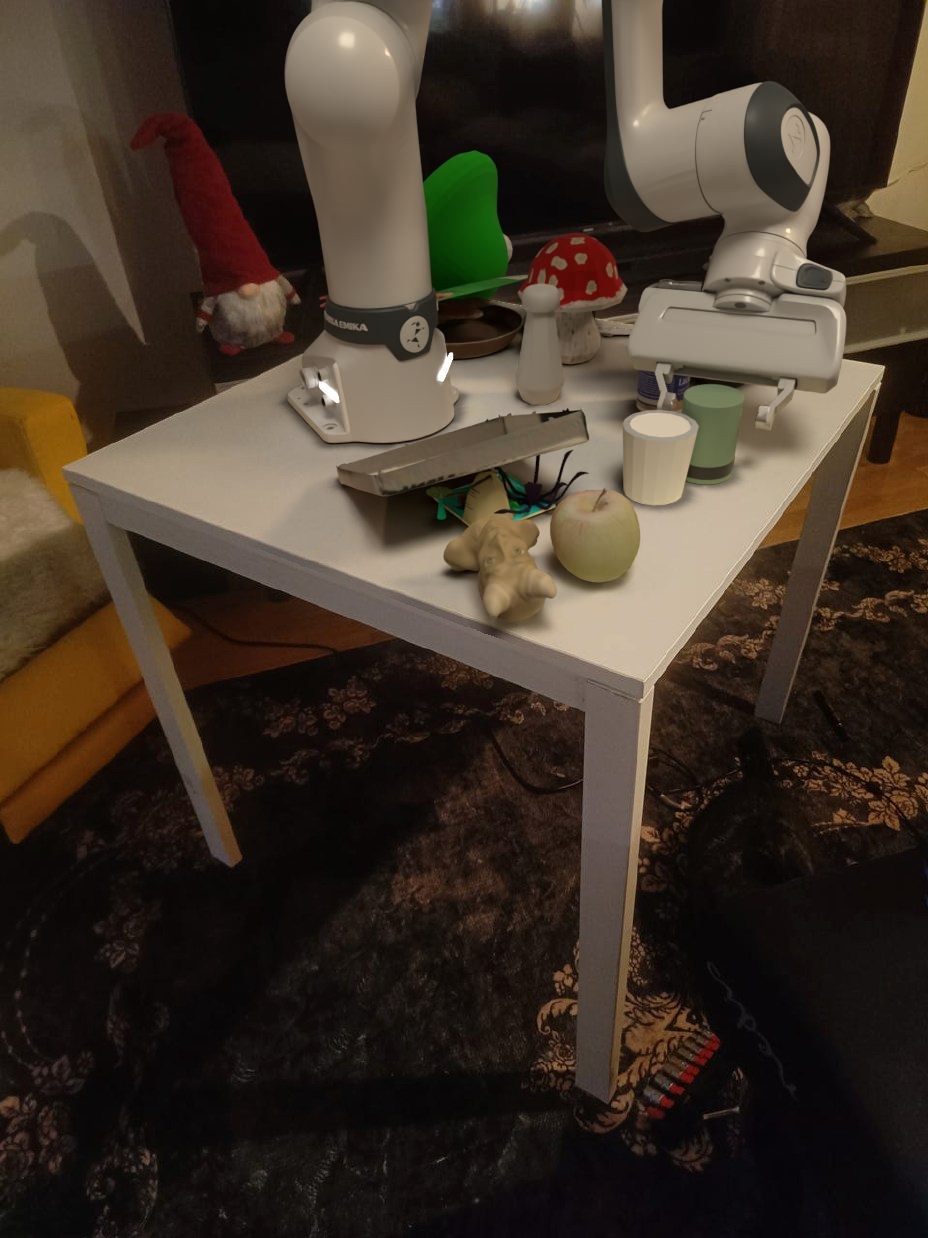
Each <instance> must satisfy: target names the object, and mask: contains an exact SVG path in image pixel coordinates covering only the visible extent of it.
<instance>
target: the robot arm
mask: <svg viewBox="0 0 928 1238" xmlns="http://www.w3.org/2000/svg"><path fill="white" fill-rule="evenodd" d="M433 3H434V0H311V7H310V13H308V15H307V16H305V17H304V18H303V20H302V21H301V22H300V23H299V25H298V26H297V27H296V29H295V31H294V32H293V34H292V36H291V38H290V41H289V44H288V47H287V51H286V55H285V63H284V87H285V93H286V96H287V101H288V104H289V107H290V111H291V115H292V121H293V125H294V129H295V134H296V138H297V142H298V148H299V152H300V156H301V160H302V164H303V169H304V172H305V176H306V180H307V183H308V187H309V191H310V195H311V198H312V201H313V206H314V210H315V214H316V219H317V226H318V232H319V239H320V244H321V245H320V246H321V251H322V257H323V264H324V265H323V266H324V271H325V277H326V278H325V279H326V284H327V286H326V287H327V291H328V294H326V295H322V296H319V298H318V299H319V300H325V302H324V303H322V304H320V305H319V306H320V308H324V311H323V318H324V321H323V331H321V332H320V334H319V335H318V337H316V339H315V340H314V341H313V342H311V344H310V345H309V346H308V347H307V348H306V349H305V351H304V352H303V354H302V355H301V369H300V370H299V373H298V374H299V379H300V383H301V384H299V385H298V386H296V387H294V388H293V389H291V390H290V391H289V392H288V393H287V402H288V403H289V404H290V406H291V407H292V408H293V409H294V410H295V411H296V413H298V414H299V416H300V417H301V418H302V419H304V421H305V422H306V423H307V424H308V425H309V426H310V428H312V430H314V432H315V433H316V434H317V435H318V436H319V437H320V438H321V439H322V440H323V441H324V442H325V443H329V444H332V443H333V444H337V443H351V442H360V443H361V442H362V443H373V444H387V443H389V444H390V443H399V442H401V443H402V442H406V441H413V440H416V439H421V438H423V437H426V436H429V435H432V434H435V433H436V432H439V431H441V430H443V429H444V428H445V427H446V426H448V425H449V424H450V423H451V422H452V421H453V419H454V417H455V415H456V414H455V408H454V407H455V406H454V405H455V404H456V402H457V401H458V400H459V397H460V393H459V389H458V387H456V386H455V385H452V379H451V373H450V371H451V370H450V366H451V363H452V361H453V354H452V353H450V354H449V356H448V358H447V352H446V345H445V339H444V335H443V333H442V332H441V331H440V330H438V329H437V328H436V326H437V325H438V301H437V299H436V291H435V289H434V288H433V287H432V285H431V271H430V256H429V241H428V226H427V213H426V204H425V196H424V188H423V182H424V181H423V172H422V162H421V154H420V153H421V152H420V142H419V130H418V122H417V121H418V120H417V109H416V100H417V97H418V94H419V91H420V86H421V85H420V84H421V79H422V73H423V66H424V60H425V54H426V47H427V42H428V35H429V31H430V30H429V29H430V23H431V17H432V11H433V5H434V4H433ZM663 3H664V0H601V23H602V40H603V41H602V42H603V44H602V45H603V62H604V63H603V64H604V83H605V103H606V138H605V150H604V151H605V152H604V161H603V184H604V192H605V195H606V199H607V201H608V203H609V205H610V207H611V208H612V210H613V211H614V212H615V213H616V214H617V216H619V218H620V219H621V220H622V221H624V222H625V223H626V225H629V226H630V227H631V228H633V229H635V231H637V232H642V233H650V232H653V231H657V230H660V229H663V228H666V227H670V226H674V225H677V224H679V223H682V222H684V221H690V220H695V219H701V218H707V217H710V216H711V217H712V216H717V215H721V216H722V218H723V219H724V227H723V230H722V233H721V234H720V235H719V237H718V239H717V241H716V243H715V244H714V247H713V251H712V254H711V255H712V257H711V261H710V264H709V268H708V271H707V274H706V278H705V281H704V282H701V281H694V280H674V279H669V278H667V279H666V278H664V279H660V280H659V281H658V282H655V283H653V284H651V285H648V286H647V287H646V288H645V289H644V290H643V291H642V294H641V296H640V300H639V303H638V305H637V317H636V319H635V321H634V324H633V326H632V328H631V329H632V331H631V333H630V334H629V336H628V339H627V342H626V347H625V349H626V355H627V357H628V360H629V363H631V365H632V367H633V369H635V370H637V371H639V370H643V371H651V372H655V375H656V379H657V382H658V386H659V389H660V397H659V400H658V404H657V410H665V411H674V408H675V407H676V404H677V398H676V393H670V392H668V391H667V388H666V384H665V382H666V383H671V382H672V378H673V375H682V376H690V377H698V378H706V379H714V380H721V381H729V382H737V383H745V384H744V385H754V386H761V387H770V388H777V390H776V391H777V393H776V394H777V395H776V397H775V398H774V399H773V400H772V401H771V402H770V403H769V404H768V405H764V404H759V405H758V408H757V414H756V416H755V420H754V428H755V429H760V430H765V431H771V430H772V428H773V424H774V421H775V417H776V415H778V414H779V413H780V412H781V411H782V410H783V409H784V408H785V407H786V406H787V405H788V404H790V403H791V401H792V400H793V398H794V394H795V391H801V392H809V393H816V394H827V393H828V392H830V391H832V390H833V389H834V388H835V387H836V386H837V384H838V382H839V377H840V373H841V369H842V364H843V358H844V352H845V351H844V350H845V344H846V335H847V334H846V333H847V314H846V312H845V309H844V307H845V302H846V296H847V280H846V276H845V275H844V274H843V273H842V272H840V271H838V270H836V269H833V268H830V267H826V266H825V265H822V264H819V263H817V262H814V261H812V260H809V259H807V257H808V255H807V244H808V240H809V238H810V236H811V235H812V233H813V232H814V230H815V228H816V225H817V223H818V220H819V217H820V213H821V210H822V206H823V205H822V204H823V201H824V197H825V192H826V187H827V181H828V177H829V176H828V175H829V168H830V160H831V159H830V157H831V138H830V134H829V130H828V129H827V126H826V124H825V123H824V122H823V121H822V120H821V119H820V118H819V117H818V116H817V115H815V114H813V113H812V112H809V110H807V108H806V107H805V106H804V105H803V104H802V102H801V101H800V100H799V99H798V98H797V97H796V96H795V95H794V94H793V93H792V92H791V91H790V90H789V89H788V88H786V87H784V86H783V85H782V84H780V83H778V82H776V81H772V80H766V81H764V82H757V83H753V84H749V85H745V86H742V87H737V88H734V89H730V90H727V91H724V92H721V93H716V94H715V95H713V96H711V97H708V98H707V97H706V98H704V99H701V100H697V101H694V102H691V103H687V104H684V105H679V106H677V107H673V108H669V107H667V105H666V103H665V101H664V80H663V79H664V77H663V76H664V74H663V71H664V70H663V69H664V68H663V67H664V65H663V61H664V59H663Z"/></svg>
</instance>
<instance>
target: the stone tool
mask: <svg viewBox="0 0 928 1238" xmlns="http://www.w3.org/2000/svg"><path fill="white" fill-rule="evenodd" d="M494 303H495V300H494V299H491V298H489V299H483V298H480V297H473V298H466V299H445V300H441V301H438V323H445V322H446V321H448V320H452V319H467V318H468V319H476V318H480V317H481V316H482V315H483V312H482V311H480V310H478V309H477V308H483V307H488V306H491V305H492V304H494Z"/></svg>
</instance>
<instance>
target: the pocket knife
mask: <svg viewBox="0 0 928 1238" xmlns="http://www.w3.org/2000/svg"><path fill="white" fill-rule="evenodd" d="M597 327H598V329H599V332H600V336H605V337H609V338H611V337H613V336H615V335H630V333H631V331H632V328H626V327H625V328H623V327H615V326H597Z"/></svg>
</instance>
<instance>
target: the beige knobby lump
mask: <svg viewBox="0 0 928 1238" xmlns="http://www.w3.org/2000/svg"><path fill="white" fill-rule="evenodd" d="M540 533H541V532H540V529H539V527H538V525H536V523H535V522H534V521H532V520H531V519H529V518H526V519H524V520H520V521H516V520H509V519H506V518H504V517H501V516H491V517H489V518H484V519H480V520H478V521H476V522H474V523H472V524H471V525H469V526H468V527H466V529H464V531H463V532H462V533H461V534H460V535H459V536H458V537H456V538H454V539H452V540H450V541H449V542H448V543H447V545H446V546H445V548H444V551H443V555H442V556H443V557H442V559H443V560H444V562H445V563H446V564H447V565H448V566H449V567H450V568H451V569H453V570H454V571H455V572H463V571H466V570H468V571H473V572H478V574H477V587H478V588H477V589H478V595H479V599H480V601H481V603H482V605H483V609H484V611H485V613H486V614H487V615H488V617H490V618H492V619H495V618H496V619H498V620H501V621H504V622H510V623H512V622H520V621H523V620H526V619H528V618H530V617H532V616H533V615H535V614H536V613H538V612H539V610H540V609H541V608H542V607H543V606H544V605H545V602H546V599H550V600H551V599H555V598H556V596H557V593H558V590H557V585H556V583H555V581H554V579H553V578H552V577H551V576H550V575H549V574H547V573H545V571H542V570H540V569H539V567H538V566H537V564H536V562H535V560H534V558H533V557H532V555H531V554H530V552H529V550H530V549H531V548H533V547H535V546H536V545H537V543H538V539H539V537H540Z"/></svg>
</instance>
